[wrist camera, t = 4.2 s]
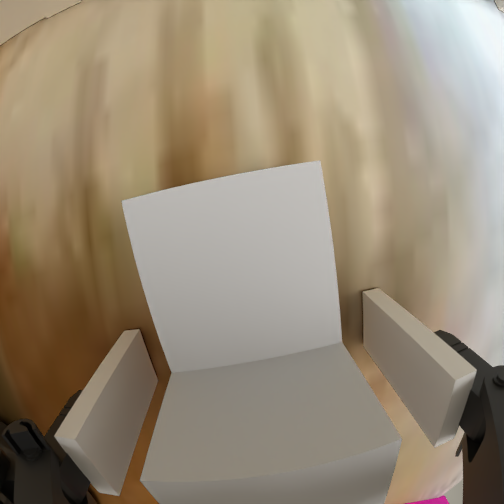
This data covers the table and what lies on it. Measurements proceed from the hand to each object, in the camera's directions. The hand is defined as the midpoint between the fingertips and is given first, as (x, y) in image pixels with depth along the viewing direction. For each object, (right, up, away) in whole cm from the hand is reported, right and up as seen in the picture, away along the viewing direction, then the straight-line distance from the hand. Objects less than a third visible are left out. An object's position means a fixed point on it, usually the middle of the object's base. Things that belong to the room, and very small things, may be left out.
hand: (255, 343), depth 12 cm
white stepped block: (0, +1, 0) cm, 1 cm away
